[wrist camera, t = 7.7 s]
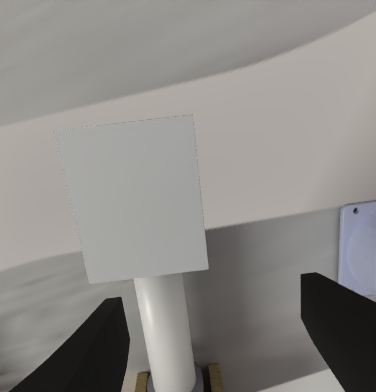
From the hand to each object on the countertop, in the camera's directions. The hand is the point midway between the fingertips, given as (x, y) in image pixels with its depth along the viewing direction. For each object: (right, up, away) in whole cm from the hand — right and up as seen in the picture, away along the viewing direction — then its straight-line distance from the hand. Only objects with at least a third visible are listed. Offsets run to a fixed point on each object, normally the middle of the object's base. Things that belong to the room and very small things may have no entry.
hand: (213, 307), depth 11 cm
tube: (-3, -5, +10) cm, 12 cm away
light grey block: (-4, +5, +9) cm, 11 cm away
